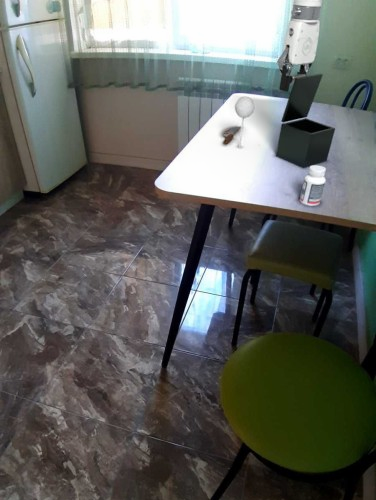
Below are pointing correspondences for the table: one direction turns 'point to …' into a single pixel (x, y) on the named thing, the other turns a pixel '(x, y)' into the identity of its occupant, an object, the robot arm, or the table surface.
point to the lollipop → (244, 110)
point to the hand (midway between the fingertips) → (291, 88)
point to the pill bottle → (313, 186)
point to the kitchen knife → (229, 134)
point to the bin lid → (301, 96)
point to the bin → (304, 142)
